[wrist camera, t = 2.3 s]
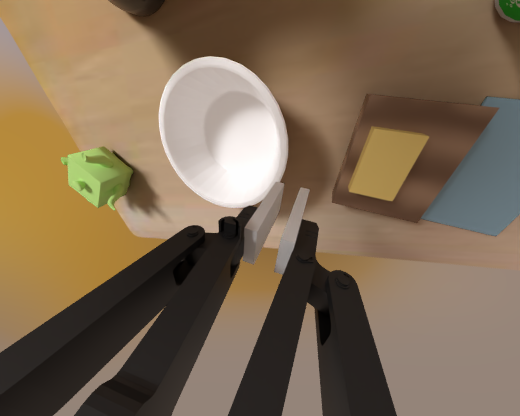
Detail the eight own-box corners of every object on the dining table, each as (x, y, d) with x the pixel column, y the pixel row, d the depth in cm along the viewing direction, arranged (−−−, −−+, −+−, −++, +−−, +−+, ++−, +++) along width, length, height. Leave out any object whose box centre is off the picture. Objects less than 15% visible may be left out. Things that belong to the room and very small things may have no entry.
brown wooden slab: (366, 94, 26) (370, 94, 23) (477, 105, 23) (499, 107, 20) (332, 192, 35) (331, 202, 32) (409, 209, 32) (417, 222, 29)
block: (371, 126, 25) (374, 128, 23) (423, 133, 23) (429, 136, 22) (348, 186, 30) (348, 191, 28) (389, 195, 28) (392, 201, 27)
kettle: (126, 142, 46) (76, 154, 37) (150, 192, 53) (113, 213, 44) (89, 146, 52) (38, 158, 43) (116, 192, 59) (76, 210, 50)
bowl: (255, 25, 27) (227, 3, 20) (319, 162, 33) (315, 180, 27) (170, 114, 38) (135, 119, 32) (230, 203, 45) (212, 222, 38)
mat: (486, 96, 23) (488, 96, 22) (628, 109, 20) (631, 110, 20) (408, 215, 33) (408, 215, 32) (494, 235, 30) (495, 236, 30)
